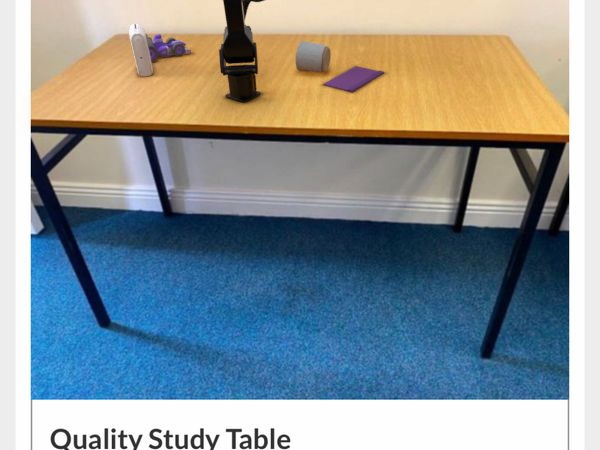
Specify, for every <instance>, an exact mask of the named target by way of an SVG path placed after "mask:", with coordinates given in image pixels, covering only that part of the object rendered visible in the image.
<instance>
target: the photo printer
mask: <svg viewBox="0 0 600 450" xmlns="http://www.w3.org/2000/svg"><path fill="white" fill-rule="evenodd" d="M145 34H146V31H145V28H144V26H142V25H141V24H140V23H132V24H131V25H130V26H129V28H128V38H129V41H130V45H131V49H132V53H133V54H132V55H133V57H134V62H135V66H136V71H137V74H138V76H141V77H151V76H152V75H153V73H154V71H153V63H152V62H151V57H150V52H149V48H148V44H147V39H146V35H145Z"/></svg>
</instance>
